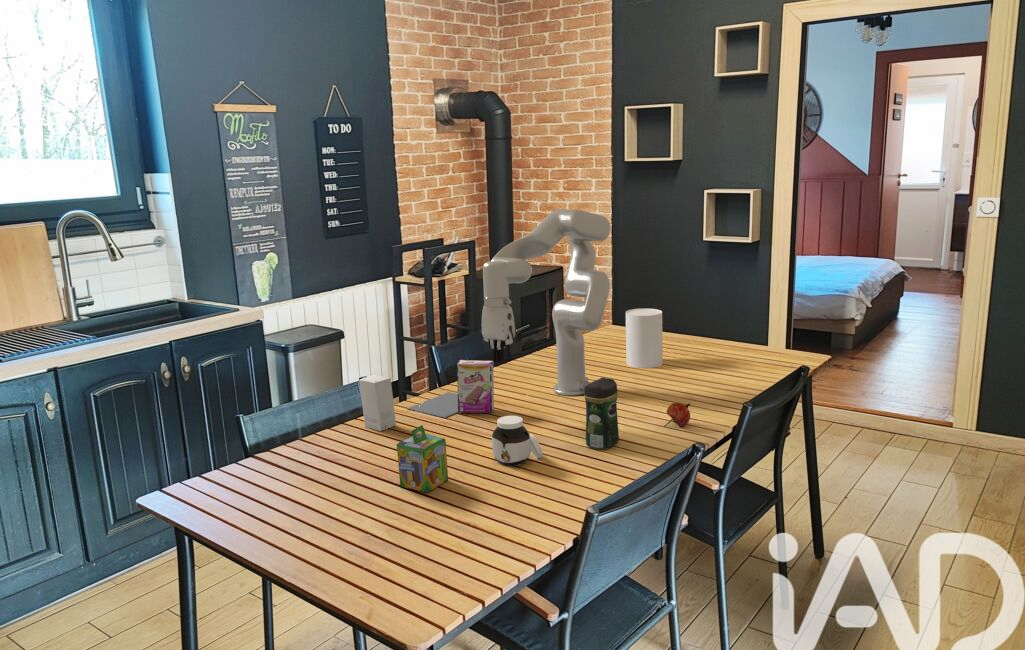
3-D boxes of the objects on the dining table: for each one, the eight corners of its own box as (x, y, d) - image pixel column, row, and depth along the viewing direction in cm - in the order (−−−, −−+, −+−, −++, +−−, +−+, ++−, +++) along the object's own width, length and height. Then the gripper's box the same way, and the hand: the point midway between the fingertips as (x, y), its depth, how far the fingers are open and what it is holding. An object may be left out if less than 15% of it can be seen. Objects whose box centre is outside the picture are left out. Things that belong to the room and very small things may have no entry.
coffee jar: (598, 436, 222) (597, 374, 218) (623, 441, 217) (622, 377, 213) (580, 447, 214) (578, 383, 210) (605, 452, 209) (604, 387, 205)
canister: (626, 358, 301) (625, 308, 297) (661, 358, 299) (661, 308, 295) (626, 368, 288) (625, 316, 284) (663, 368, 286) (663, 315, 282)
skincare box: (396, 426, 238) (392, 377, 234) (379, 432, 233) (375, 383, 230) (379, 420, 243) (375, 373, 240) (362, 426, 239) (358, 378, 235)
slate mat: (485, 401, 258) (485, 399, 258) (444, 418, 243) (444, 417, 243) (448, 393, 268) (448, 392, 268) (406, 409, 253) (406, 408, 253)
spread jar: (488, 461, 207) (486, 420, 205) (517, 448, 215) (515, 408, 213) (521, 472, 199) (519, 429, 197) (549, 458, 207) (548, 417, 205)
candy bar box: (457, 413, 246) (456, 364, 242) (460, 408, 251) (458, 359, 247) (492, 414, 245) (491, 364, 241) (494, 408, 250) (493, 360, 246)
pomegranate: (673, 438, 223) (700, 417, 222) (657, 419, 223) (684, 397, 222) (669, 432, 231) (696, 411, 230) (654, 413, 230) (680, 392, 229)
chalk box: (427, 494, 189) (423, 437, 186) (398, 487, 194) (393, 431, 191) (450, 480, 197) (446, 425, 193) (421, 473, 201) (417, 419, 198)
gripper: (523, 302, 231) (525, 361, 235) (485, 298, 240) (487, 355, 244) (508, 306, 225) (510, 367, 229) (469, 302, 235) (472, 360, 238)
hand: (498, 361), depth 237 cm, fingers closed
